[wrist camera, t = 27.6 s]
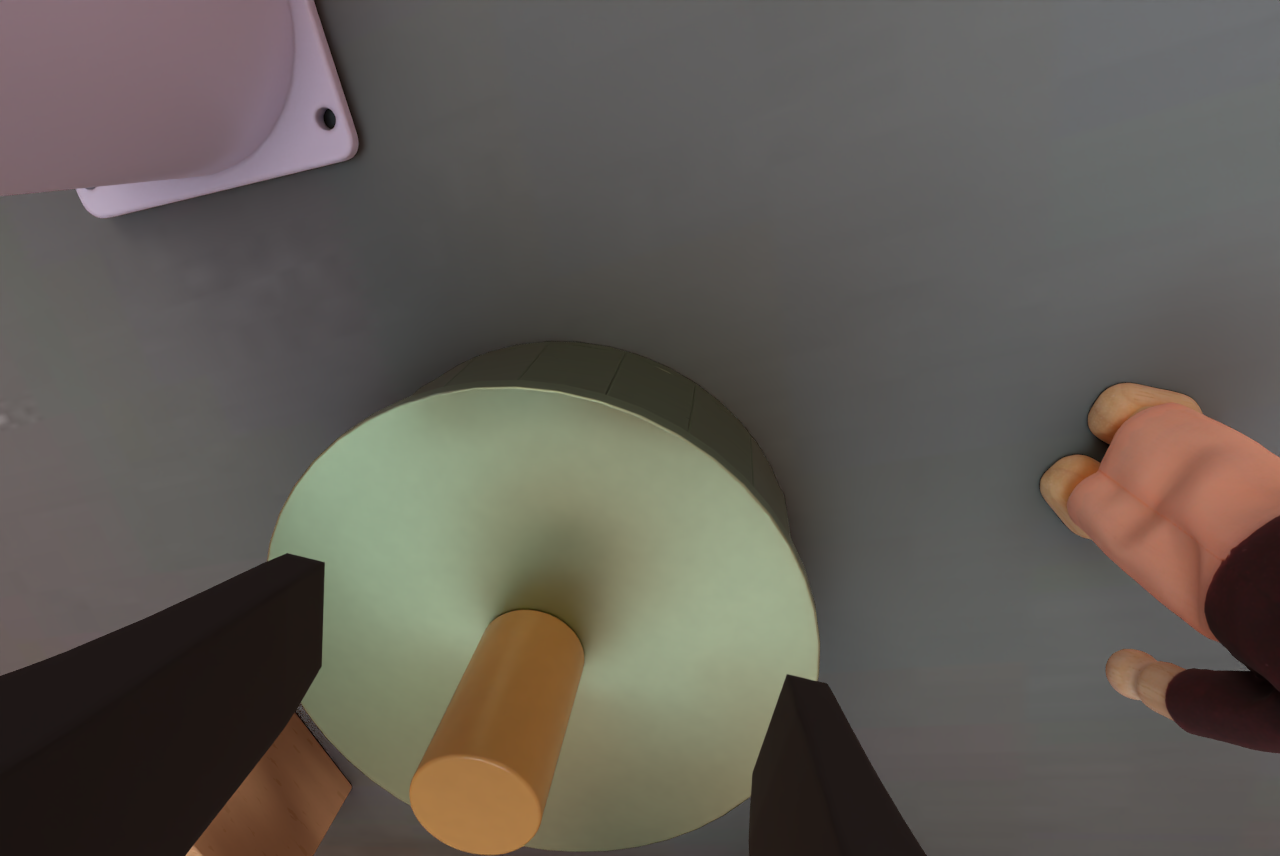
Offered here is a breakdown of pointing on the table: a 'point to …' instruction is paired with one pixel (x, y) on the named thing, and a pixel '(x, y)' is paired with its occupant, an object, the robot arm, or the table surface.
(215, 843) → the block
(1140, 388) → the grandmother figurine
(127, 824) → the robot arm
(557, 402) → the tin lid
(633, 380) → the tin
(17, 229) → the table surface
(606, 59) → the table surface
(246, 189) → the table surface
